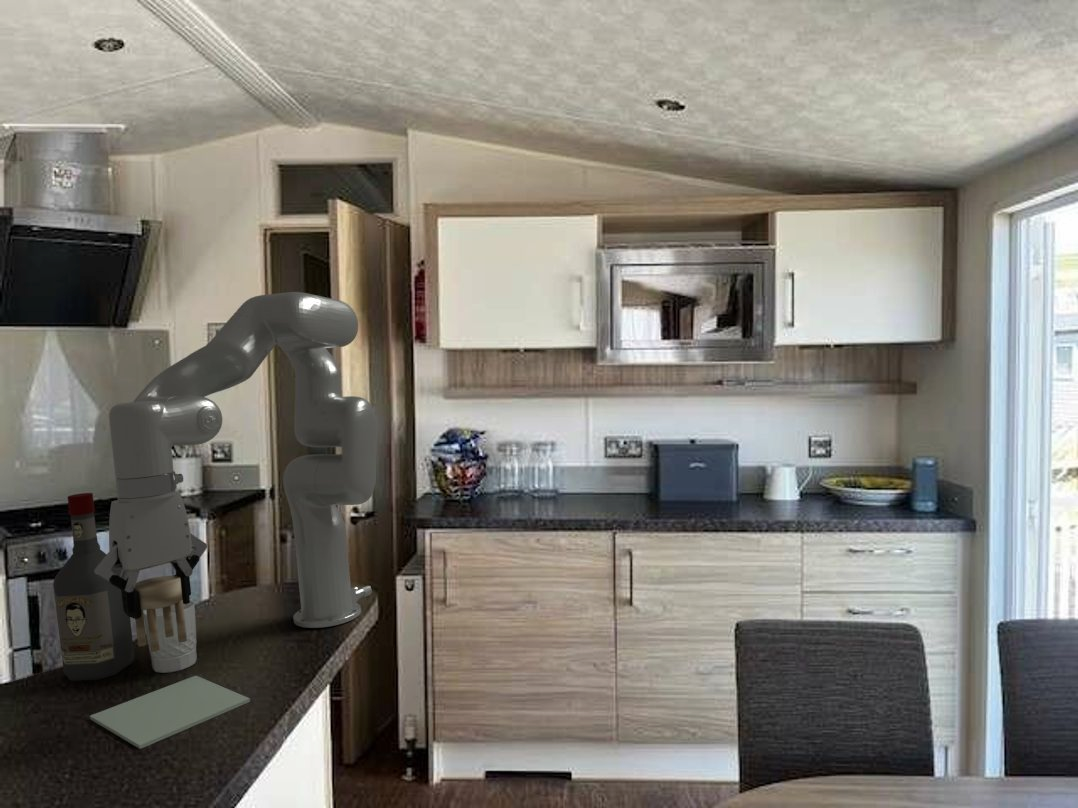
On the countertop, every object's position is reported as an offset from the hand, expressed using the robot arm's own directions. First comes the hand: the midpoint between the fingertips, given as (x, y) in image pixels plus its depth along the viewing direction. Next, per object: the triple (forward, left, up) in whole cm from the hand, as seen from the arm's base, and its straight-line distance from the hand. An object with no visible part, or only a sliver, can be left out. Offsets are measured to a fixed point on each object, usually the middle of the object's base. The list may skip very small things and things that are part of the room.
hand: (158, 608), depth 115 cm
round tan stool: (0, 0, -5) cm, 5 cm away
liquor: (-1, -27, -16) cm, 31 cm away
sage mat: (0, 0, -15) cm, 15 cm away
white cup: (-9, -17, -16) cm, 25 cm away
